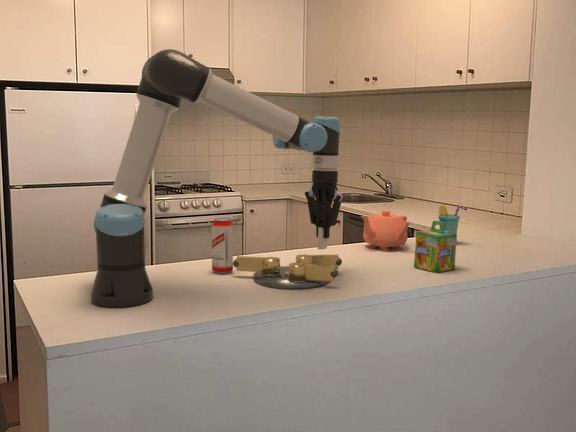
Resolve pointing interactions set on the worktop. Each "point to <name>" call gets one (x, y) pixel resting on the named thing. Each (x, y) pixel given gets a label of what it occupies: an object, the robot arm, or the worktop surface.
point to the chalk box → (435, 249)
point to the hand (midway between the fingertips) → (322, 248)
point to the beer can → (222, 245)
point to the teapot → (385, 230)
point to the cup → (449, 219)
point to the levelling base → (285, 281)
